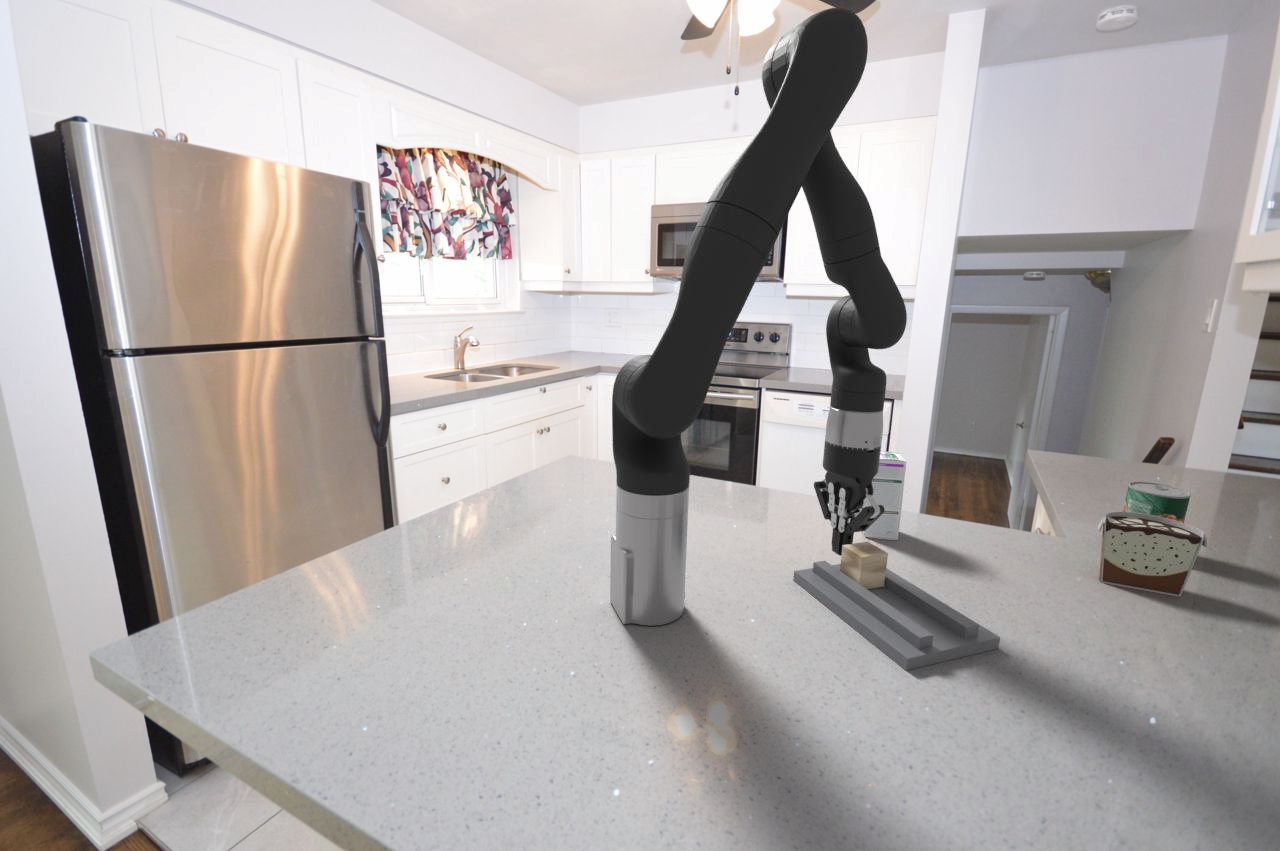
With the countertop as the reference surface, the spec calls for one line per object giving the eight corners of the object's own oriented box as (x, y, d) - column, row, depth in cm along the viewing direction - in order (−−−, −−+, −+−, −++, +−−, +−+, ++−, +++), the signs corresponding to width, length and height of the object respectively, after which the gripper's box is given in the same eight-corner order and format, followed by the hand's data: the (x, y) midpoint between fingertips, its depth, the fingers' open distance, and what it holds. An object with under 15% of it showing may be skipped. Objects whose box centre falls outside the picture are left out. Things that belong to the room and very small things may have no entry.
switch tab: (839, 577, 82) (842, 545, 81) (864, 573, 84) (867, 541, 82) (858, 590, 78) (861, 557, 77) (883, 586, 80) (888, 553, 79)
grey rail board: (793, 580, 85) (795, 561, 84) (870, 567, 89) (872, 550, 89) (905, 670, 64) (909, 646, 64) (998, 648, 69) (1002, 626, 68)
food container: (1176, 581, 87) (1191, 519, 85) (1194, 599, 82) (1210, 533, 80) (1077, 564, 92) (1089, 505, 90) (1088, 580, 87) (1101, 518, 85)
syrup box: (898, 541, 100) (909, 460, 96) (863, 537, 101) (872, 458, 98) (891, 528, 105) (901, 452, 102) (857, 525, 106) (866, 449, 103)
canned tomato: (1172, 564, 93) (1187, 500, 91) (1111, 548, 99) (1124, 487, 96) (1179, 551, 98) (1194, 490, 96) (1120, 536, 104) (1133, 478, 101)
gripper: (802, 430, 86) (793, 538, 90) (863, 453, 74) (850, 576, 78) (843, 427, 88) (833, 533, 92) (909, 449, 76) (894, 569, 80)
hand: (841, 552), depth 85 cm, fingers closed
